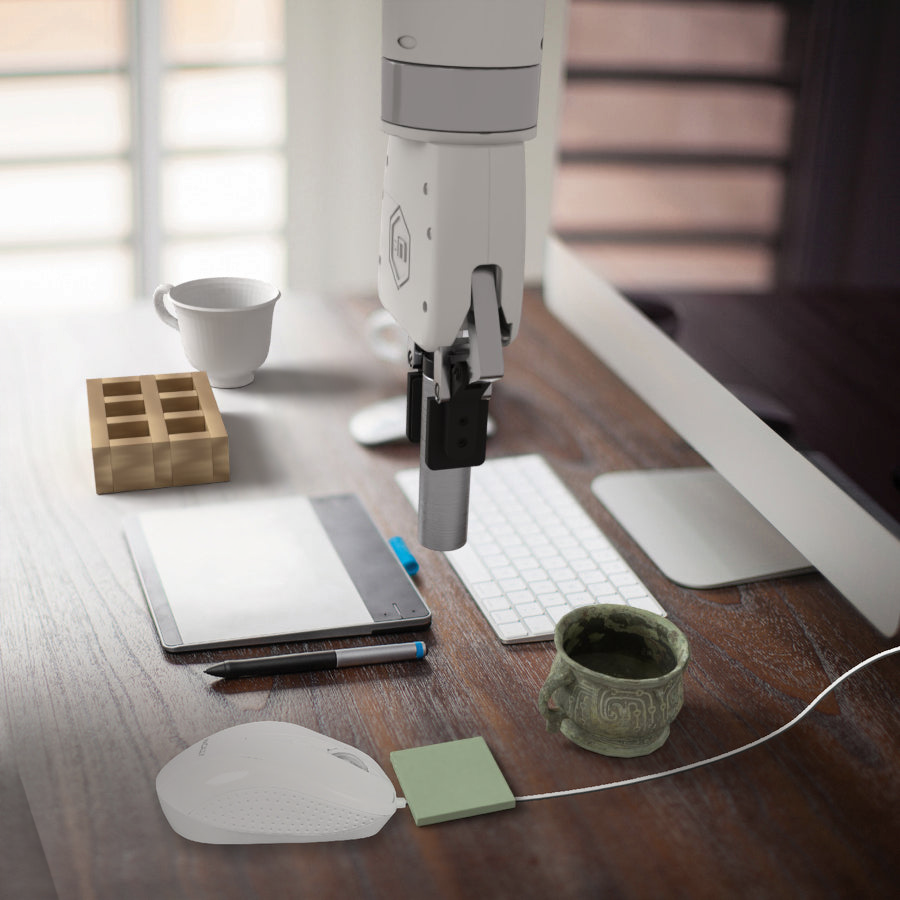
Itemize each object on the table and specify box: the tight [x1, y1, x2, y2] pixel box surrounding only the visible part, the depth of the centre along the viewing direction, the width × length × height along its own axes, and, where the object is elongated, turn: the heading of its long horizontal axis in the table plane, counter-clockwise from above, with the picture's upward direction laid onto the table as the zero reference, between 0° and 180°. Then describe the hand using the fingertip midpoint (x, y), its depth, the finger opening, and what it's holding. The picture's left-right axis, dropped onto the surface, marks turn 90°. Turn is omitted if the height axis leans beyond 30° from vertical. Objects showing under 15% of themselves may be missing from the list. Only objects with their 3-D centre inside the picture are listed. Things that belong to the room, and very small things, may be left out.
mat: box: [389, 735, 517, 827], centre depth 68 cm, size 6×6×1 cm
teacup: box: [152, 276, 282, 389], centre depth 125 cm, size 12×15×10 cm
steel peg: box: [416, 351, 472, 552], centre depth 62 cm, size 3×3×11 cm
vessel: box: [537, 602, 692, 759], centre depth 73 cm, size 12×9×6 cm
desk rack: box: [85, 370, 231, 495], centre depth 108 cm, size 12×17×4 cm
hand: (444, 449), depth 62 cm, fingers closed on steel peg, 2 cm apart
